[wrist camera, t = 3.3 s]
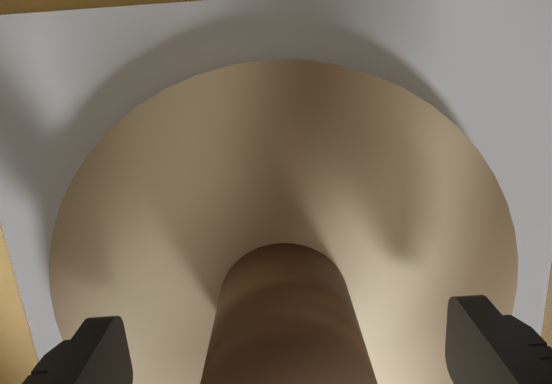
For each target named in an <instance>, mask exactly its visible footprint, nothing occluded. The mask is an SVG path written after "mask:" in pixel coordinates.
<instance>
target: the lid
mask: <svg viewBox="0 0 552 384" xmlns="http://www.w3.org/2000/svg"><path fill="white" fill-rule="evenodd" d="M517 282H518V252H517V243H516V235H515V229H514V225H513V222H512V218H511V214H510V211H509V207H508V203H507V201H506V199H505V197H504V194H503V192H502V190H501V188H500V185H499V183H498V181H497V179H496V177H495V175H494V173H493V172H492V170H491V169H490V167H489V166H488V164H487V162H486V161H485V159H484V158H483V156H482V155H481V153H480V152H479V150H478V149H477V148H476V147H475V146H474V145H473V143H472V142H471V141H470V140H469V139H468V138H467V137H466V135H465V134H464V133H463V132H462V131H461V130H460V129H459V128H458V126H456V125H455V124H454V123H453V122H452V121H450V120H449V119H448V118H447V117H446V116H444V115H443V114H442V113H441V112H440V111H438V110H437V109H436V108H435V107H434V106H432V105H431V104H429V103H428V102H426V101H424V100H423V99H421V98H419V97H418V96H416V95H415V94H413V93H411V92H410V91H408V90H406V89H405V88H403V87H401V86H398V85H396V84H394V83H391V82H389V81H387V80H384V79H382V78H380V77H377V76H375V75H373V74H370V73H366V72H363V71H359V70H355V69H352V68H348V67H344V66H341V65H337V64H331V63H324V62H316V61H308V60H301V59H278V60H260V61H253V62H246V63H239V64H233V65H230V66H226V67H223V68H219V69H216V70H212V71H209V72H205V73H202V74H198V75H195V76H193V77H191V78H189V79H186V80H184V81H182V82H180V83H177V84H175V85H173V86H171V87H168V88H166V89H164V90H162V91H161V92H159V93H158V94H156V95H154V96H153V97H151V98H150V99H148V100H146V101H145V102H143V103H142V104H140V105H138V106H137V107H135V108H134V109H133V110H132V111H130V112H129V113H128V114H127V115H126V116H125V117H123V118H122V119H121V120H120V121H119V122H118V123H116V124H115V125H114V126H113V127H112V128H110V129H109V130H108V132H107V133H106V134H105V135H104V136H103V137H102V139H101V140H100V141H99V142H98V143H97V144H96V145H95V147H94V148H93V149H92V150H91V151H90V152H89V153H88V155H87V156H86V158H85V160H84V161H83V163H82V164H81V166H80V167H79V169H78V171H77V172H76V174H75V175H74V177H73V178H72V180H71V182H70V185H69V187H68V189H67V191H66V194H65V196H64V198H63V200H62V203H61V205H60V207H59V211H58V214H57V218H56V222H55V225H54V229H53V233H52V239H51V247H50V256H49V284H50V295H51V300H52V305H53V311H54V316H55V320H56V323H57V325H58V328H59V331H60V334H61V337H62V340H71V338H72V337H73V335H74V334H75V333H76V331H77V330H78V328H79V327H80V326H81V324H82V323H83V321H84V320H85V319H86V318H89V317H105V316H120V317H121V318H122V320H123V323H124V328H125V333H126V338H127V343H128V348H129V353H130V358H131V363H132V368H133V384H454V383H453V381H452V380H451V378H450V375H449V372H448V369H447V365H446V359H445V341H446V325H447V308H448V301H449V299H450V297H453V296H469V295H485V296H486V297H487V298H488V299H489V300H490V301H491V302H492V304H493V305H494V306H495V307H496V308H497V309H498V311H499V312H500V313H501V314H502V315H512V313H513V307H514V302H515V296H516V291H517Z"/></svg>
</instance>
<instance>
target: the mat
mask: <svg viewBox="0 0 552 384" xmlns="http://www.w3.org/2000/svg"><path fill="white" fill-rule="evenodd" d="M278 59H301V60H308V61H316V62H324V63H331V64H337V65H341V66H344V67H348V68H352V69H355V70H359V71H363V72H366V73H370V74H373V75H375V76H377V77H380V78H382V79H384V80H387V81H389V82H391V83H394V84H396V85H398V86H401V87H403V88H405V89H406V90H408V91H410V92H411V93H413V94H415V95H416V96H418V97H419V98H421V99H423V100H424V101H426V102H428V103H429V104H431V105H432V106H434V107H435V108H436V109H437V110H438V111H440V112H441V113H442V114H443V115H444V116H446V117H447V118H448V119H449V120H450V121H452V122H453V123H454V124H455V125H456V126H458V128H459V129H460V130H461V131H462V132H463V133H464V134H465V135H466V137H467V138H468V139H469V140H470V141H471V142H472V143H473V145H474V146H475V147H476V148H477V149H478V150H479V152H480V153H481V155H482V156H483V158H484V159H485V161H486V162H487V164H488V166H489V167H490V169H491V170H492V172H493V173H494V175H495V177H496V179H497V181H498V183H499V185H500V188H501V190H502V192H503V194H504V197H505V199H506V201H507V203H508V207H509V211H510V214H511V218H512V222H513V225H514V229H515V235H516V243H517V252H518V282H517V291H516V296H515V302H514V307H513V313H512V316H514V317H515V318H517V319H519V320H520V321H522V322H524V323H525V324H527V325H529V326H531V327H532V328H533V329H534V330H535V331H536V332H537V333H538V334H539V335H540V336H541V332H542V325H543V318H544V311H545V304H546V296H547V289H548V282H549V275H550V268H551V260H552V0H200V1H187V2H173V3H159V4H145V5H131V6H117V7H103V8H90V9H76V10H62V11H48V12H34V13H20V14H6V15H0V224H1V228H2V231H3V235H4V238H5V242H6V246H7V249H8V253H9V256H10V260H11V264H12V267H13V271H14V274H15V278H16V281H17V285H18V289H19V292H20V296H21V299H22V303H23V307H24V310H25V314H26V317H27V321H28V325H29V328H30V332H31V335H32V339H33V343H34V346H35V350H36V353H37V357H38V360H39V361H40V360H41V358H42V357H43V356H44V355H45V354H46V353H47V352H49V351H50V350H51V349H53V348H54V347H55V346H57V345H58V344H59V343H61V342H62V341H63V340H62V337H61V334H60V331H59V328H58V325H57V323H56V320H55V316H54V311H53V305H52V300H51V295H50V284H49V256H50V247H51V239H52V233H53V229H54V225H55V222H56V218H57V214H58V211H59V207H60V205H61V203H62V200H63V198H64V196H65V194H66V191H67V189H68V187H69V185H70V182H71V180H72V178H73V177H74V175H75V174H76V172H77V171H78V169H79V167H80V166H81V164H82V163H83V161H84V160H85V158H86V156H87V155H88V153H89V152H90V151H91V150H92V149H93V148H94V147H95V145H96V144H97V143H98V142H99V141H100V140H101V139H102V137H103V136H104V135H105V134H106V133H107V132H108V130H109V129H110V128H112V127H113V126H114V125H115V124H116V123H118V122H119V121H120V120H121V119H122V118H123V117H125V116H126V115H127V114H128V113H129V112H130V111H132V110H133V109H134V108H135V107H137V106H138V105H140V104H142V103H143V102H145V101H146V100H148V99H150V98H151V97H153V96H154V95H156V94H158V93H159V92H161V91H162V90H164V89H166V88H168V87H171V86H173V85H175V84H177V83H180V82H182V81H184V80H186V79H189V78H191V77H193V76H195V75H198V74H202V73H205V72H209V71H212V70H216V69H219V68H223V67H226V66H230V65H233V64H239V63H246V62H253V61H260V60H278Z"/></svg>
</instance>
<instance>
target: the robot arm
mask: <svg viewBox="0 0 552 384" xmlns="http://www.w3.org/2000/svg"><path fill="white" fill-rule="evenodd" d="M445 359H446V365H447V369H448V372H449V375H450V378H451V380H452V381H453V383H454V384H552V348H551V347H550V346H547V343H546V342H545V341H544V340H543V339H542V338H541V336H540V335H539V334H538V333H537V332H536V331H535V330H534V329H533V328H532V327H531V326H529V325H527V324H525V323H524V322H522V321H520V320H519V319H517V318H515V317H514V316H512V315H502V314H501V313H500V312H499V311H498V309H497V308H496V307H495V306H494V305H493V304H492V302H491V301H490V300H489V299H488V298H487V297H486V296H485V295H469V296H453V297H450V299H449V301H448V308H447V325H446V341H445ZM22 384H133V368H132V363H131V358H130V353H129V348H128V343H127V338H126V333H125V328H124V323H123V320H122V318H121V317H120V316H105V317H89V318H86V319H85V320H84V321H83V323H82V324H81V326H80V327H79V328H78V330H77V331H76V333H75V334H74V335H73V337H72V338H71V340H63V341H62V342H61V343H59V344H58V345H57V346H55V347H54V348H53V349H51V350H50V351H49V352H47V353H46V354H45V355H44V356H43V357H42V358H41V360H40V361H39V362H38V364H37V365H36V366H35V368H34V369H33V370H32V372H31V375H29V376H28V377H27V378H26V380H25V381H24V382H23V383H22Z"/></svg>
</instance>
